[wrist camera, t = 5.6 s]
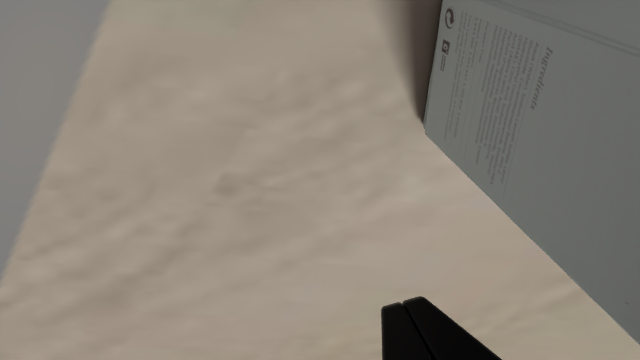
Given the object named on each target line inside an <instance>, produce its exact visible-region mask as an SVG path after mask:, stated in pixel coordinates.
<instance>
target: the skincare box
mask: <svg viewBox="0 0 640 360" xmlns="http://www.w3.org/2000/svg"><path fill="white" fill-rule="evenodd" d="M423 127H424V129H425V134H426V135H427V137H428V138H429V139H430V140H432V141H433V142H434V143H435V144H436V145H437V146H438V147H439V148H440V149H441V150H442V151H443V152H444V153H445V154H446V156H447V157H448V158H449V159H450V160H451V161H453V162H454V163H455V164H456V165H457V166H458V167H459V168H460V169H461V170H462V171H463V172H464V173H465V174H466V175H467V176H468V177H469V178H470V179H471V180H472V181H473V182H474V183H475V184H476V185H477V186H478V187H479V188H480V189H481V190H482V191H483V192H484V193H485V194H486V195H487V196H488V197H489V198H490V199H491V200H492V201H493V202H494V203H495V204H496V205H497V206H498V207H499V208H500V209H501V210H502V211H503V212H504V213H505V214H506V215H507V216H508V217H509V218H510V219H511V220H512V221H513V222H514V223H515V224H516V225H517V226H518V227H519V228H520V229H521V230H522V231H523V232H524V233H525V234H526V235H527V236H529V237H530V238H531V239H532V240H533V241H534V242H535V243H536V244H537V245H538V246H539V247H540V248H541V249H542V250H543V251H544V252H545V253H546V254H547V255H548V256H549V257H550V258H551V259H552V260H553V261H554V262H555V263H556V264H557V265H558V266H560V267H561V268H562V269H563V270H564V271H565V272H566V273H567V275H568V276H569V277H570V278H571V279H572V280H573V281H574V282H575V283H576V284H577V285H578V286H580V287H581V288H582V289H583V290H584V291H585V292H586V293H587V294H588V295H589V296H590V297H591V298H592V299H593V300H594V301H595V302H596V303H597V304H598V305H599V306H600V307H601V308H602V309H603V310H604V311H605V312H606V313H607V314H608V315H609V316H610V317H611V318H612V319H613V320H614V321H615V322H616V323H617V324H618V325H619V326H620V327H621V328H622V329H623V330H624V331H625V332H626V333H627V334H628V335H630V336H631V337H632V338H633V339H634V340H635V341H636V342H637V343H638V344H639V345H640V0H443V1H442V7H441V14H440V22H439V30H438V37H437V43H436V49H435V55H434V61H433V68H432V72H431V77H430V83H429V89H428V96H427V103H426V110H425V116H424V122H423Z"/></svg>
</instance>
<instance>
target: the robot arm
mask: <svg viewBox="0 0 640 360" xmlns="http://www.w3.org/2000/svg"><path fill="white" fill-rule="evenodd" d="M381 323H382V360H502V359H501V358H499V357H498V356H497V355H496V354H494V353H493V352H492V351H491V350H489V349H488V348H487V347H486V346H484V345H483V344H482V343H481V342H479V341H478V340H477V339H476V338H474V337H473V336H472V335H471V334H469V333H468V332H467V331H466V330H464V329H463V328H462V327H461V326H459V325H458V324H457V323H456V322H454V321H453V320H452V319H451V318H449V317H448V316H447V315H446V314H444V313H443V312H442V311H441V310H439V309H438V308H437V307H436V306H434V305H433V304H432V303H431V302H429V301H428V300H427V299H426V298H424V297H421V296H419V297H415V298H412V299H408V300H405V301H403V303H400V302H397V303H394V304H390V305H387V306H383V307H382V309H381Z"/></svg>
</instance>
